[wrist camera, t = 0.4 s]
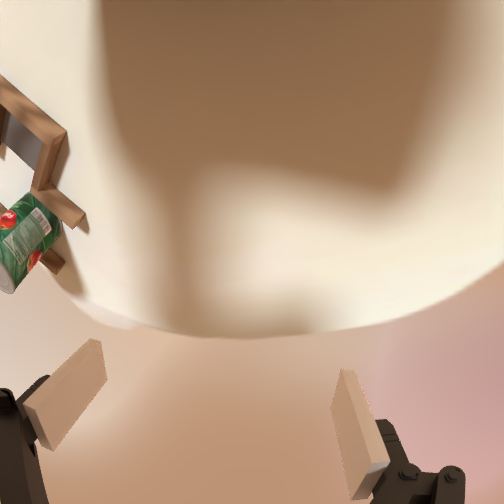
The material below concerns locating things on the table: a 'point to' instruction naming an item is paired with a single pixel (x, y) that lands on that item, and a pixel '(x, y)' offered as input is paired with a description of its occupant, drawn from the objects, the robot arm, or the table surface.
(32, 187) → the wooden rail frame
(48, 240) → the canned tomato
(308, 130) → the table surface
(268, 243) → the table surface
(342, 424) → the robot arm
